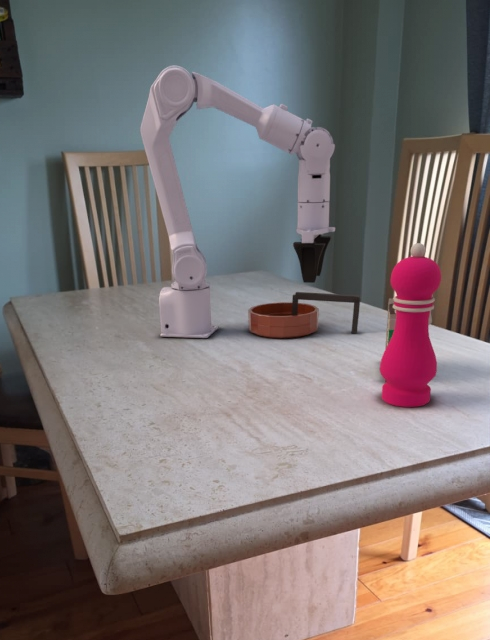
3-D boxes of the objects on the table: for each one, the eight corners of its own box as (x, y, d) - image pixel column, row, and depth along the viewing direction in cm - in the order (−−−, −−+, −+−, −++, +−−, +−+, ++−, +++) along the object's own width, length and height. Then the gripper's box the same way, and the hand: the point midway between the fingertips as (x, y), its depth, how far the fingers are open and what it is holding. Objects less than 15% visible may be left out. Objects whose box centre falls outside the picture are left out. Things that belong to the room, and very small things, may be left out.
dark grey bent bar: (269, 329, 119) (270, 293, 116) (274, 324, 123) (275, 288, 120) (356, 335, 115) (359, 298, 112) (357, 330, 119) (361, 293, 116)
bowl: (242, 338, 116) (241, 315, 114) (257, 322, 128) (256, 301, 126) (312, 340, 113) (313, 317, 111) (321, 324, 125) (322, 302, 123)
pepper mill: (371, 392, 86) (380, 241, 78) (422, 389, 87) (436, 239, 79) (387, 410, 80) (399, 247, 72) (441, 407, 80) (460, 245, 72)
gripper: (331, 203, 105) (328, 285, 111) (339, 199, 118) (337, 273, 123) (290, 204, 107) (289, 285, 112) (302, 200, 119) (301, 272, 125)
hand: (312, 278), depth 118 cm, fingers open, 7 cm apart
